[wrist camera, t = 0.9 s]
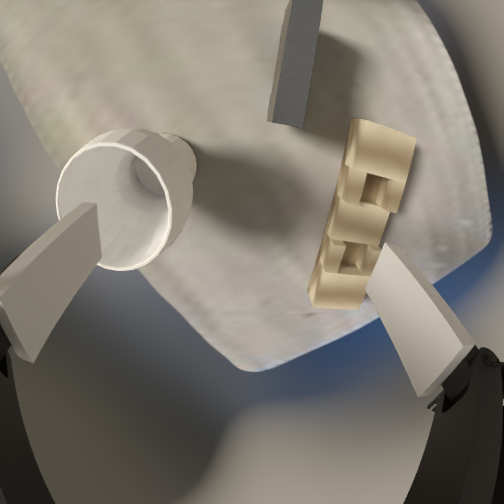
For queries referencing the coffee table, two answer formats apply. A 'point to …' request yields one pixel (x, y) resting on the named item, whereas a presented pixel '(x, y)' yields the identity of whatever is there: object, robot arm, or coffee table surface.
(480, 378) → the robot arm
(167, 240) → the cup
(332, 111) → the coffee table surface
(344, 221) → the rail
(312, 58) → the grey block
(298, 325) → the coffee table surface
